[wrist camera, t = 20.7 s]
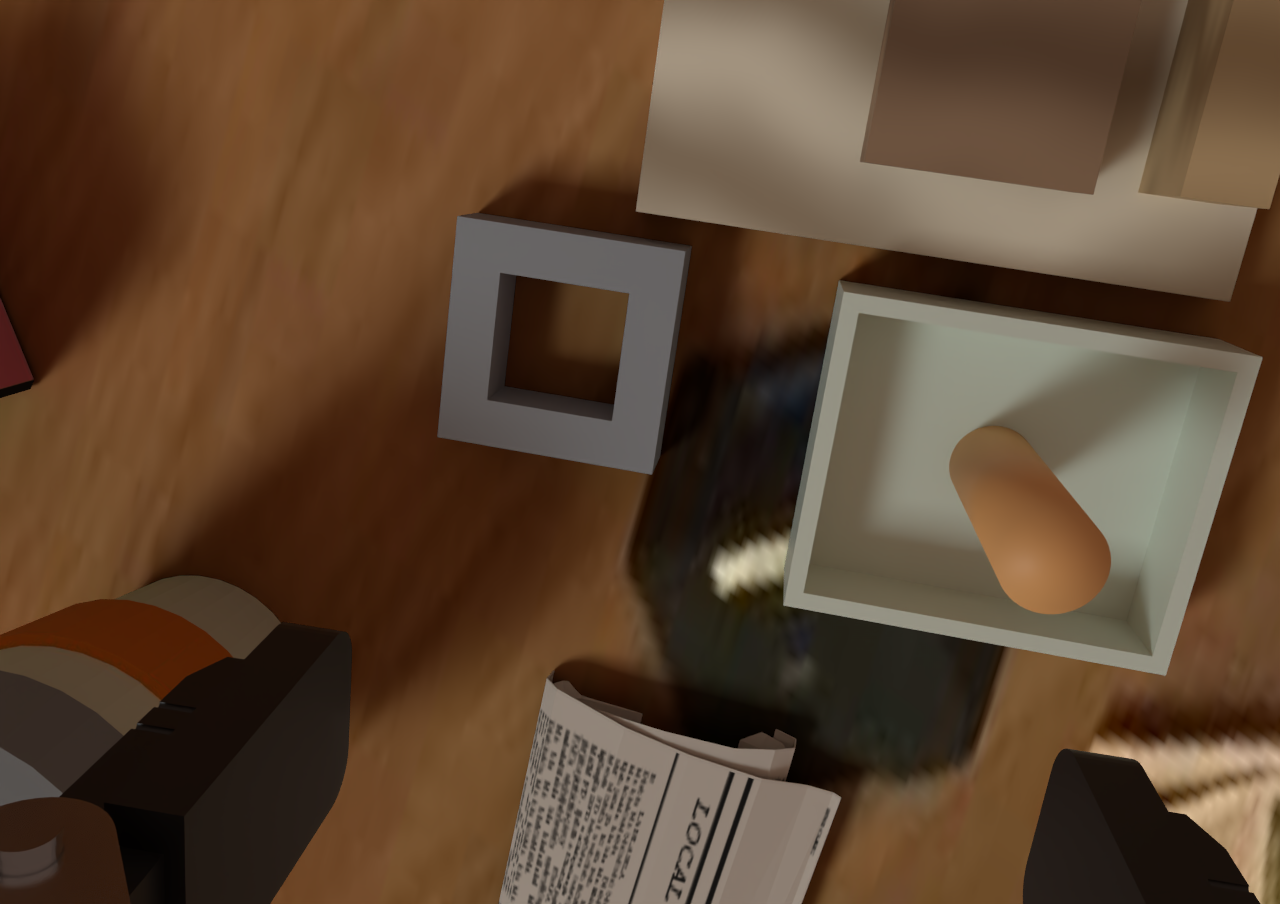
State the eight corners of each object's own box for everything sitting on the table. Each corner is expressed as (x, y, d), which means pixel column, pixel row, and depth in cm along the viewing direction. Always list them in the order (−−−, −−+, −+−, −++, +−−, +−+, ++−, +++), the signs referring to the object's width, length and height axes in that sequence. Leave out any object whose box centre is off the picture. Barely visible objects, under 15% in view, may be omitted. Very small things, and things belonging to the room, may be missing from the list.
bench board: (701, -228, 35) (685, -297, 30) (1343, -155, 33) (1446, -214, 28) (641, 209, 39) (618, 217, 34) (1213, 296, 37) (1282, 318, 32)
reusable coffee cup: (194, 474, 44) (-94, 626, 30) (404, 696, 45) (226, 943, 31) (14, 649, 47) (-322, 860, 33) (214, 850, 49) (-25, 1137, 34)
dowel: (959, 419, 39) (1009, 501, 29) (1044, 433, 38) (1123, 521, 29) (940, 498, 40) (984, 602, 30) (1024, 512, 39) (1095, 623, 30)
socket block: (477, 213, 40) (457, 215, 37) (692, 245, 39) (685, 251, 37) (457, 421, 42) (437, 436, 40) (660, 456, 41) (651, 474, 39)
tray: (839, 280, 39) (843, 291, 35) (1219, 339, 37) (1262, 357, 34) (783, 568, 42) (783, 605, 38) (1133, 631, 41) (1165, 675, 37)
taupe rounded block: (915, -135, 34) (925, -158, 31) (1146, -108, 33) (1173, -129, 31) (859, 161, 36) (864, 162, 34) (1073, 192, 35) (1093, 194, 33)
